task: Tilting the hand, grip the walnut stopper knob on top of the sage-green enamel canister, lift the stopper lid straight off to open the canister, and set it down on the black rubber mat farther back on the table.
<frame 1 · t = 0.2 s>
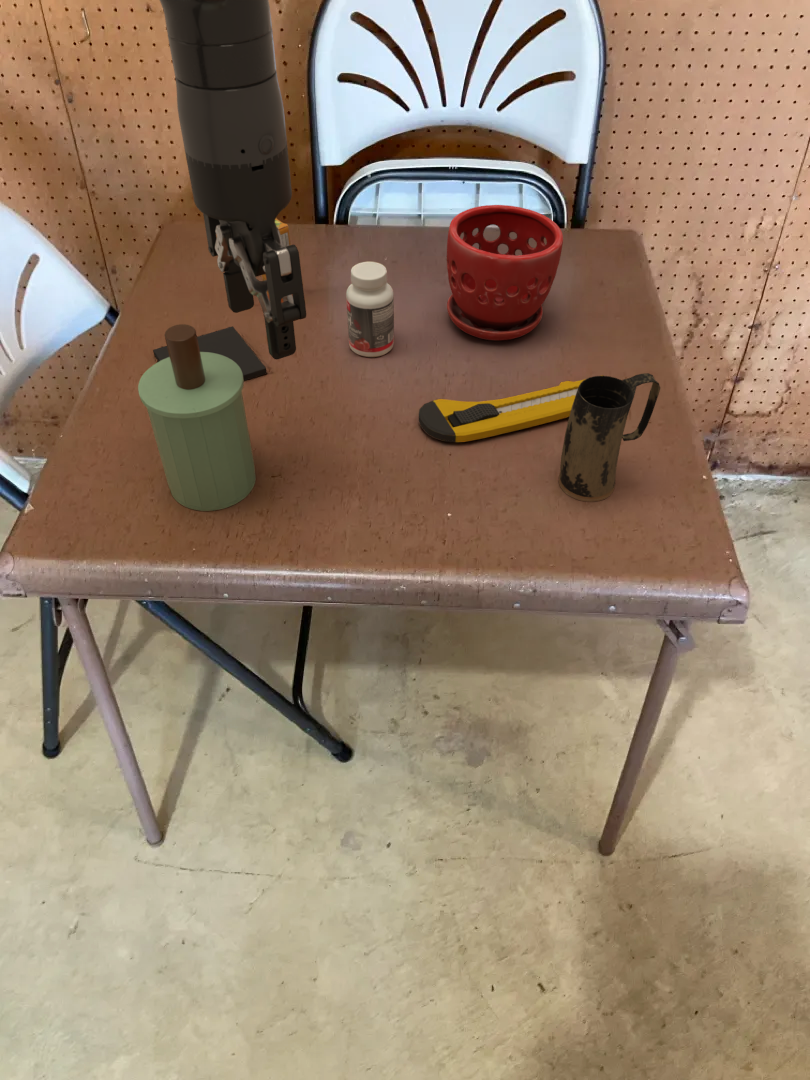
hand: (262, 331, 74), 16 cm above the table, tool pointing down, fingers open, 8 cm apart
canister: (213, 481, 83), on the table
pill bottle: (371, 347, 100), on the table
mug: (595, 482, 84), on the table
flower pot: (496, 322, 104), on the table
utility knife: (519, 412, 92), on the table
supplement box: (280, 300, 107), on the table
stopper: (192, 386, 75), point 11 cm above the table, touching canister
mat: (209, 364, 97), on the table
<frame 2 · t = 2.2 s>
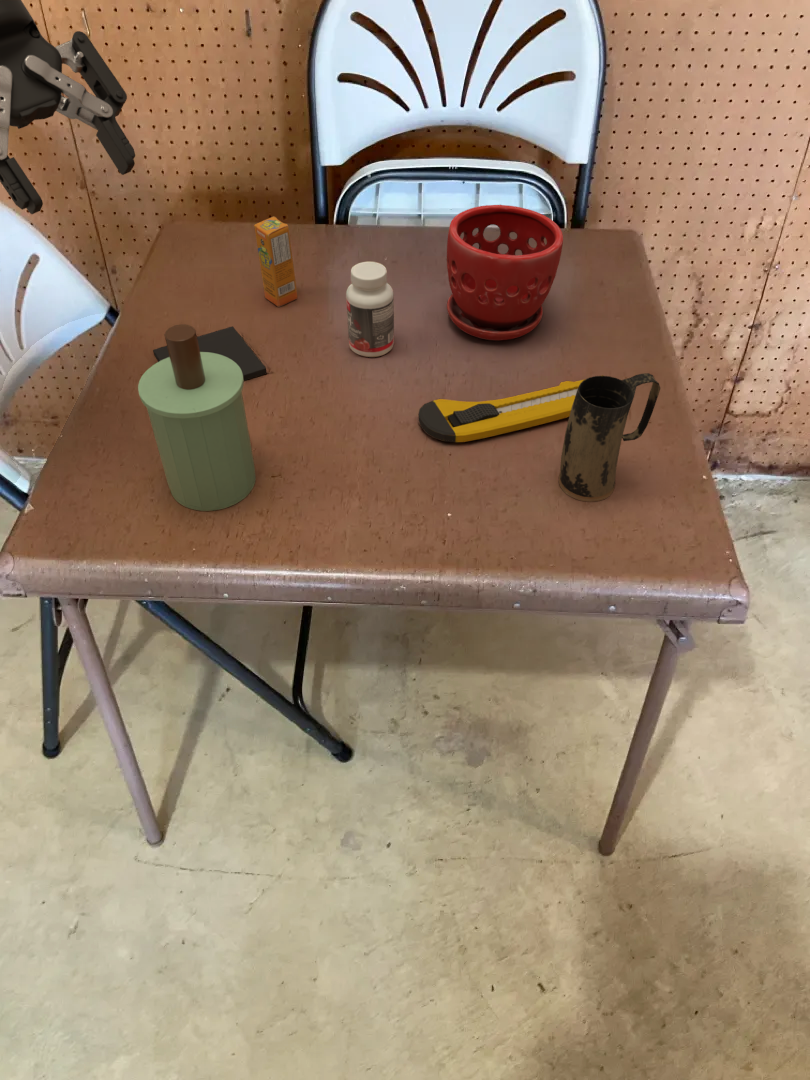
hand: (85, 188, 68), 27 cm above the table, tool tilted 40°, fingers open, 8 cm apart
nothing on the table moved.
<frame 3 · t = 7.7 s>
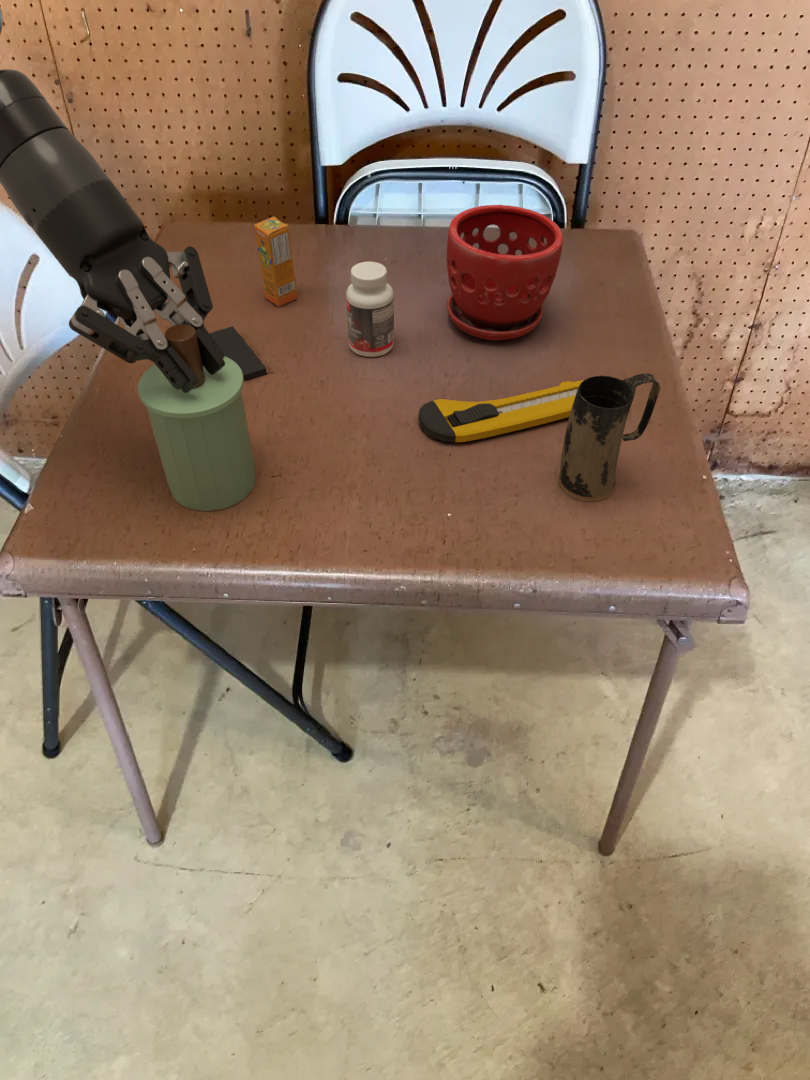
hand: (205, 378, 73), 13 cm above the table, tool tilted 45°, fingers closed on stopper, 2 cm apart
stopper: (192, 386, 75), point 12 cm above the table, touching canister, gripper
everything else where it was.
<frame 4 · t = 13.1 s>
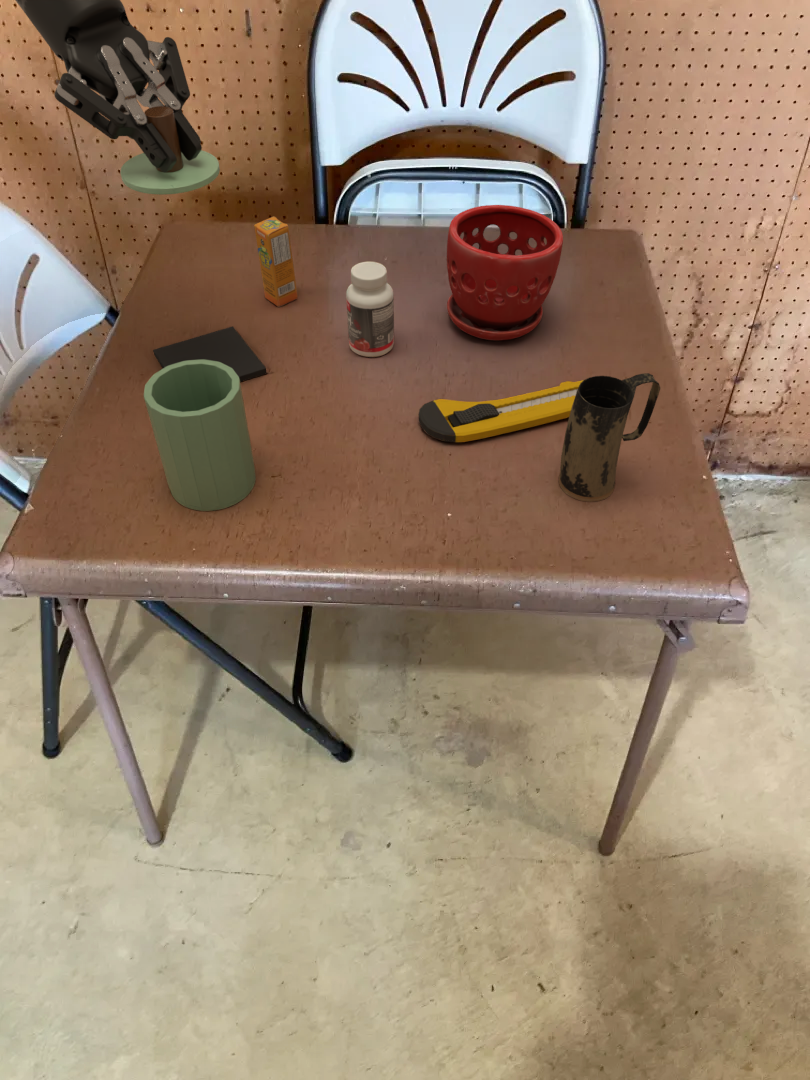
hand: (183, 159, 78), 24 cm above the table, tool tilted 45°, fingers closed on stopper, 2 cm apart
stopper: (171, 173, 80), point 22 cm above the table, touching gripper
everything else where it was.
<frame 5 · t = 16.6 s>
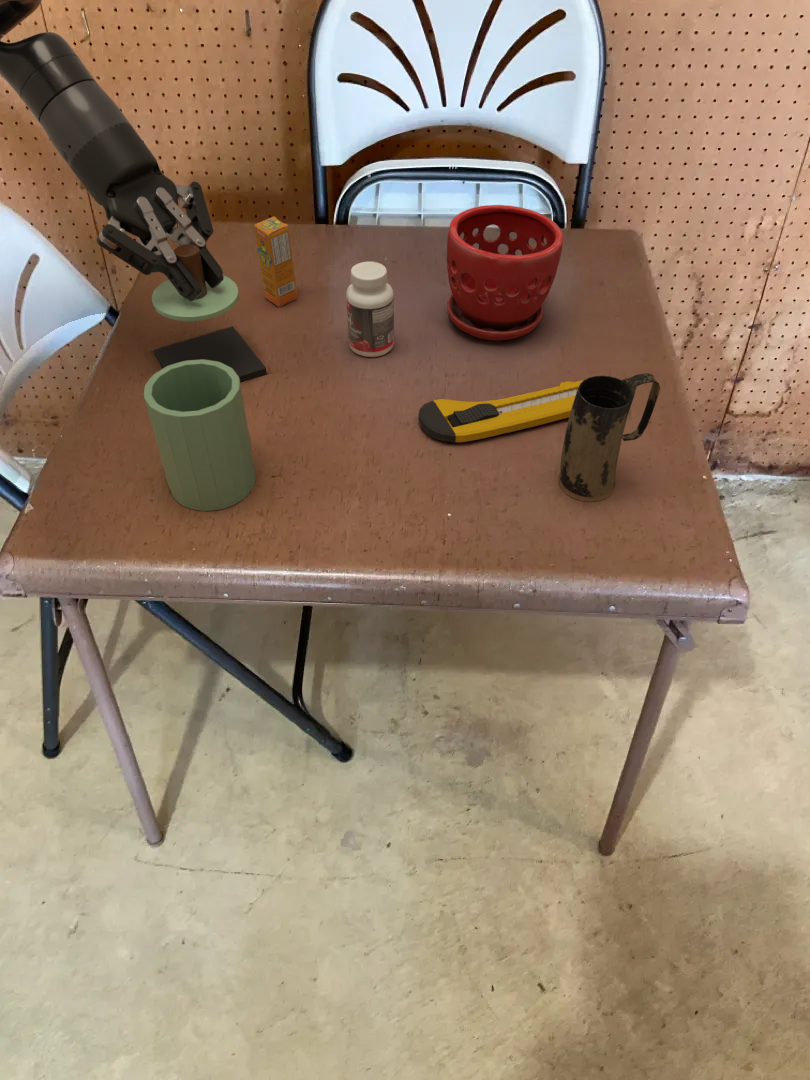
hand: (207, 289, 89), 10 cm above the table, tool tilted 45°, fingers closed on stopper, 2 cm apart
stopper: (196, 298, 91), point 9 cm above the table, touching gripper
everything else where it was.
when the fingers open (3 cm above the table, at t = 18.8 s): stopper stays where it is, resting on mat.
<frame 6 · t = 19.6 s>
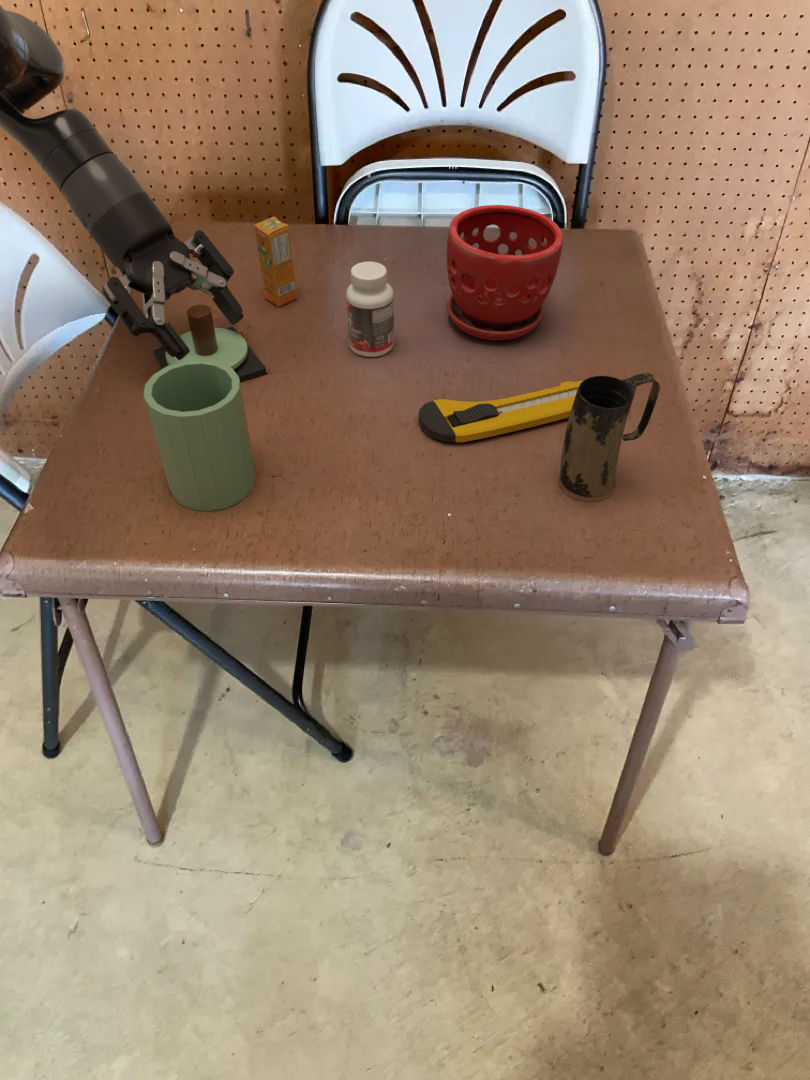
hand: (212, 338, 94), 4 cm above the table, tool tilted 45°, fingers open, 8 cm apart
stopper: (207, 354, 96), point 1 cm above the table, touching mat
everything else where it was.
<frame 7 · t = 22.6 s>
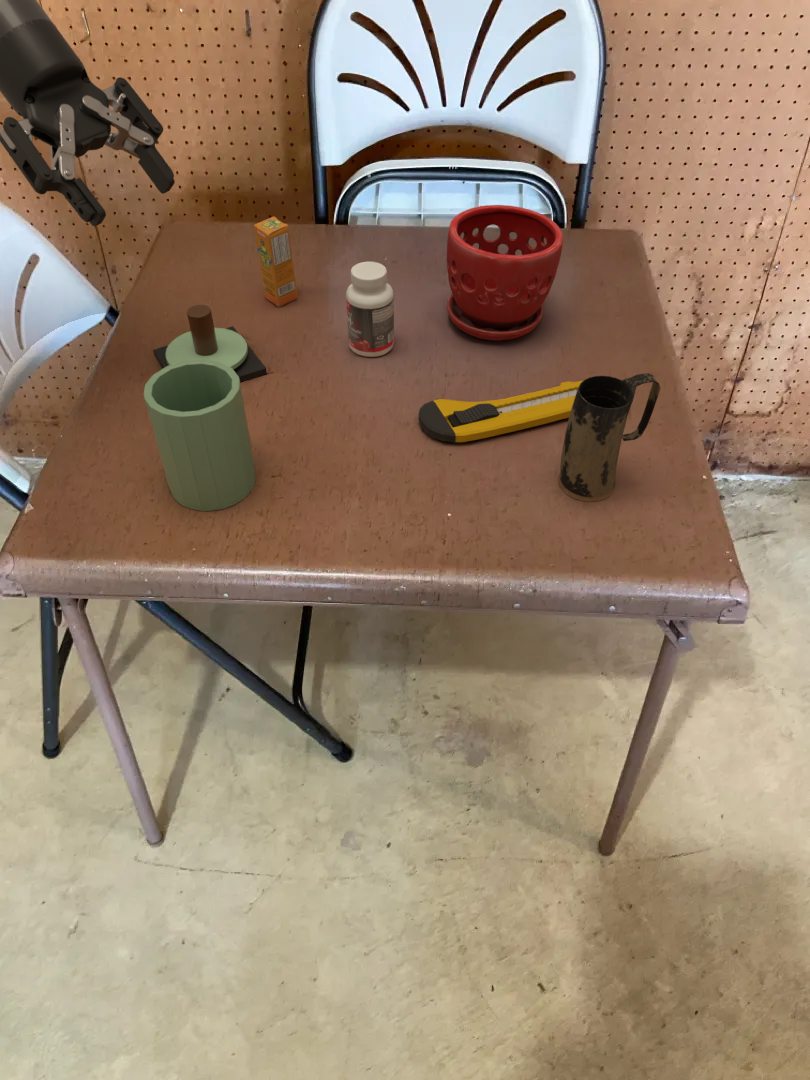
hand: (136, 204, 79), 21 cm above the table, tool tilted 45°, fingers open, 8 cm apart
nothing on the table moved.
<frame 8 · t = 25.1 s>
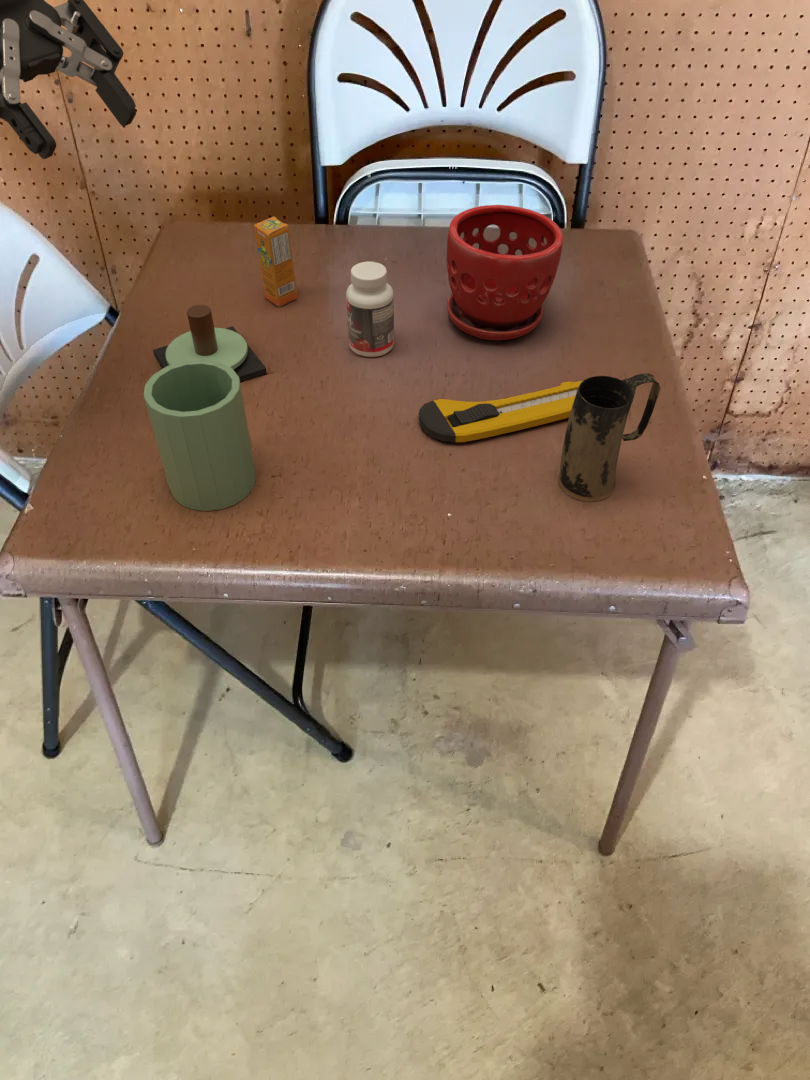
hand: (92, 135, 71), 29 cm above the table, tool tilted 45°, fingers open, 8 cm apart
nothing on the table moved.
at the end: stopper inside the target area on the mat (0.1 cm from its centre), point 1.4 cm above the mat's base; stopper tilted 0°; the gripper is holding nothing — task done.
